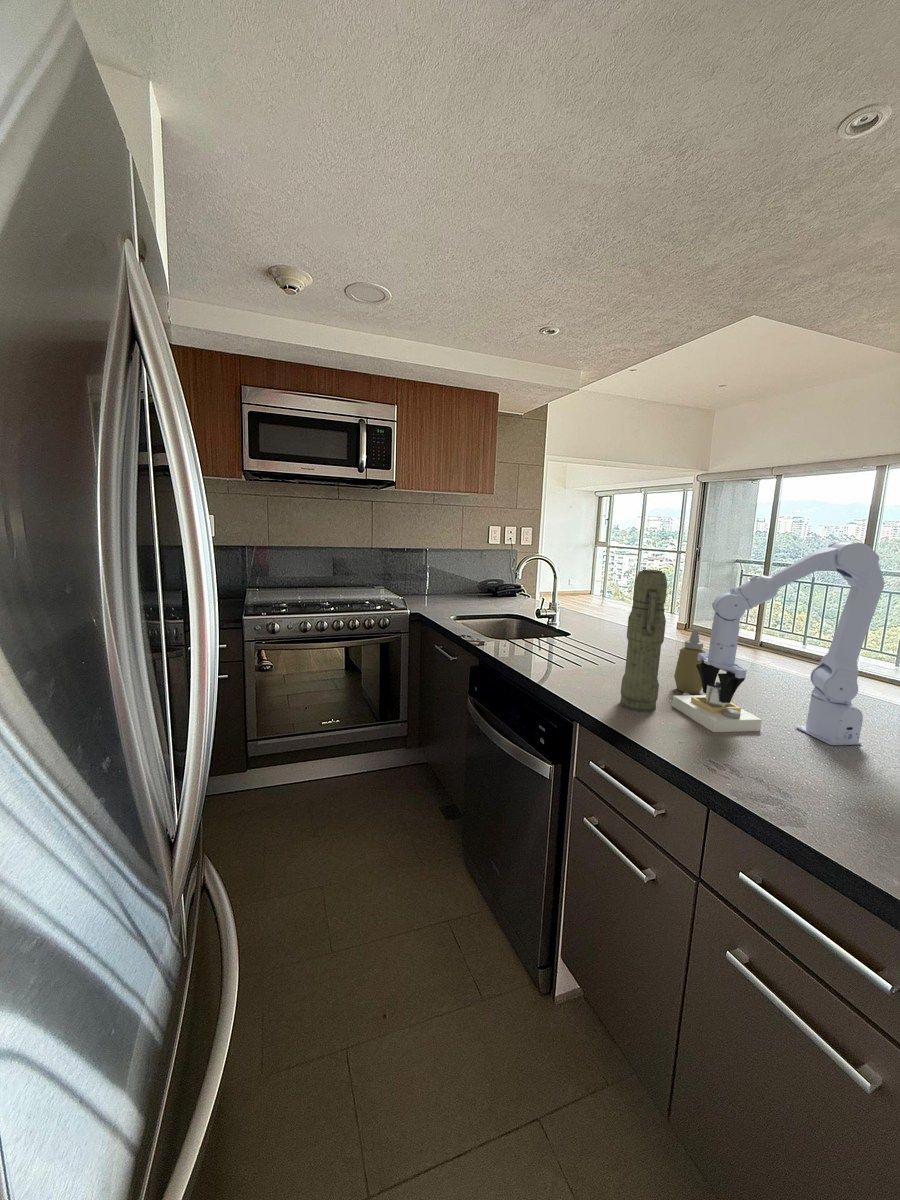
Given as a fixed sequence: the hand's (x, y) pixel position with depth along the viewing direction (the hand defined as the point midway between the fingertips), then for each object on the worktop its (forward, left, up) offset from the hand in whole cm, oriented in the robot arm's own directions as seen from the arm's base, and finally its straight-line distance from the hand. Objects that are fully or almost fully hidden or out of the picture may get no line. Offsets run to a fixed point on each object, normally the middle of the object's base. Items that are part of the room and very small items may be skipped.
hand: (716, 697), depth 120 cm
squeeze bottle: (+19, -6, -5) cm, 21 cm away
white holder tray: (+2, 0, -5) cm, 6 cm away
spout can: (0, 0, -5) cm, 5 cm away
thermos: (+9, +15, -5) cm, 18 cm away
